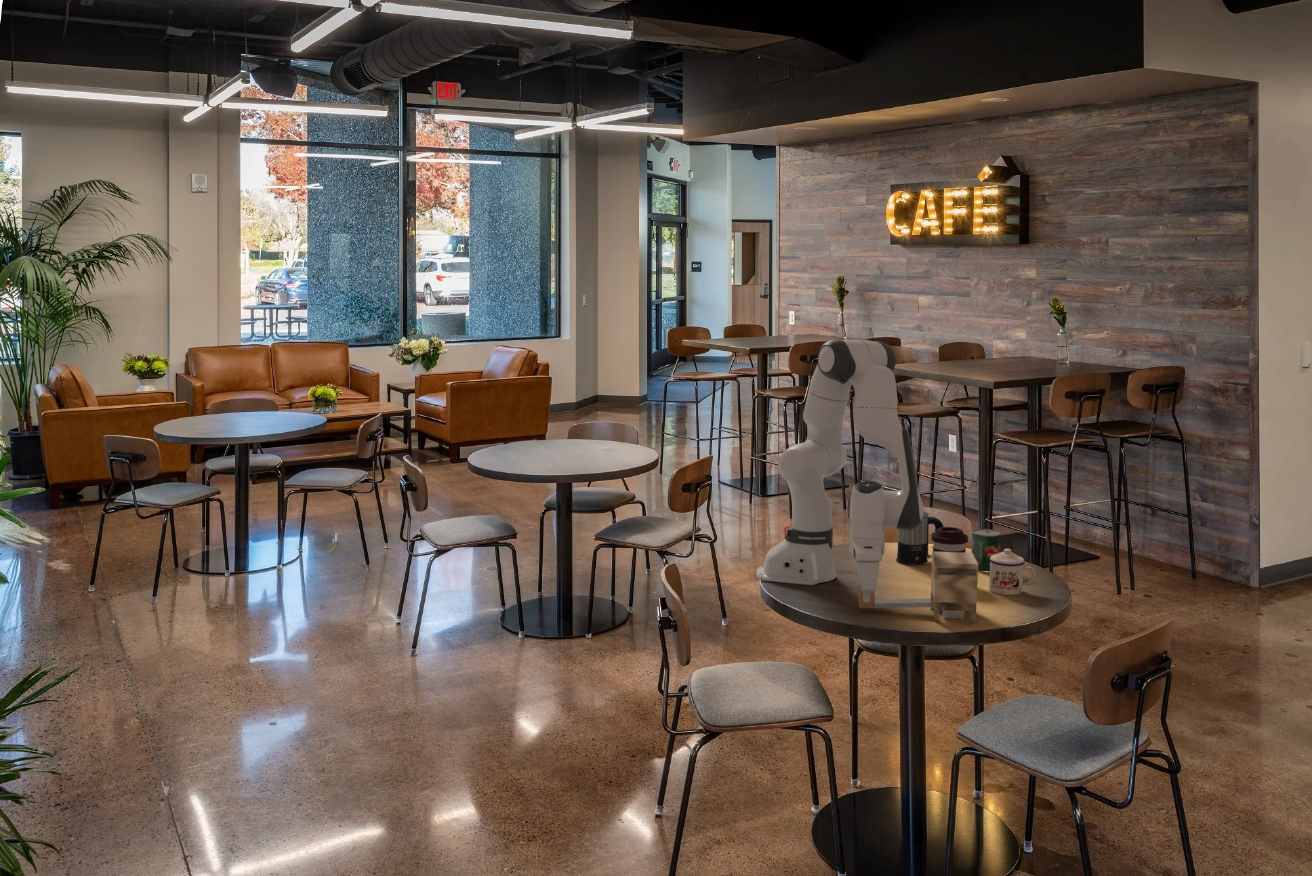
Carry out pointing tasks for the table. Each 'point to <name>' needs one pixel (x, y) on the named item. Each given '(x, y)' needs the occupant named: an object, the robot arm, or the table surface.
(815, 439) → the robot arm
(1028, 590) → the table surface
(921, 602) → the blade tool
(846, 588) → the table surface
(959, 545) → the coffee cup
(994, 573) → the teacup with lid
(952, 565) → the cabinet
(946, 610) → the block
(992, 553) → the canned tomato
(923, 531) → the milk frother
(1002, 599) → the table surface
